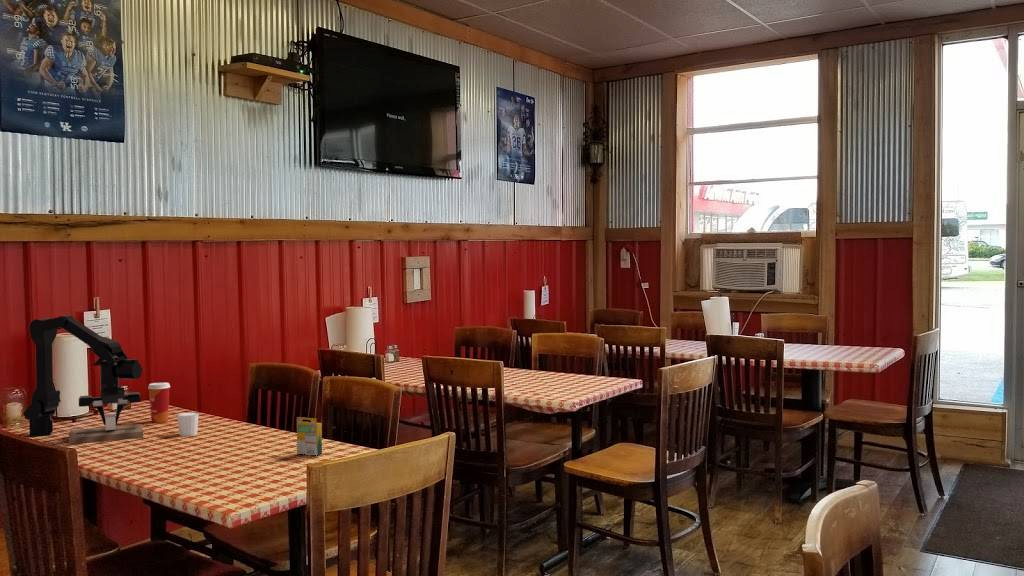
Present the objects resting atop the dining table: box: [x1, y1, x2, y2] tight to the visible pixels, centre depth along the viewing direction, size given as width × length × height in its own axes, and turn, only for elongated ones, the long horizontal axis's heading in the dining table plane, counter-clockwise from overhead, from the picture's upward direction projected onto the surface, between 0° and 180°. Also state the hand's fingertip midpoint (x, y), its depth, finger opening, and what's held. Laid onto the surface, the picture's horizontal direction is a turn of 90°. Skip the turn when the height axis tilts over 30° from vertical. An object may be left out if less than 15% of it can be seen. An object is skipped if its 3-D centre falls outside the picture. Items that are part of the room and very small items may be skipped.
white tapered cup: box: [176, 412, 200, 437], centre depth 279 cm, size 7×7×7 cm
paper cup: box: [147, 382, 171, 424], centre depth 301 cm, size 8×8×14 cm
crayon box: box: [296, 416, 323, 457], centre depth 250 cm, size 7×3×12 cm, turn 70°
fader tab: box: [104, 413, 117, 431], centre depth 276 cm, size 3×6×5 cm, turn 27°
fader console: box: [68, 423, 144, 445], centre depth 276 cm, size 22×14×2 cm, turn 117°
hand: (110, 424), depth 276 cm, fingers closed on fader tab, 3 cm apart
